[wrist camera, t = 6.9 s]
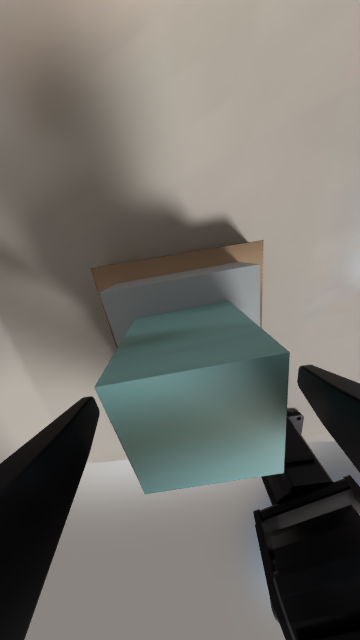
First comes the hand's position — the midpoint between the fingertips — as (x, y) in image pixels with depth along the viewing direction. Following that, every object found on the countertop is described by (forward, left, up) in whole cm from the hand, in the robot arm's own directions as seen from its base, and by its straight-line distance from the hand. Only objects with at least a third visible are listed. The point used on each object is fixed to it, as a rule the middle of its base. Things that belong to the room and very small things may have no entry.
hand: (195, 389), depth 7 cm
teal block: (0, 0, -3) cm, 3 cm away
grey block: (0, 0, -6) cm, 6 cm away
